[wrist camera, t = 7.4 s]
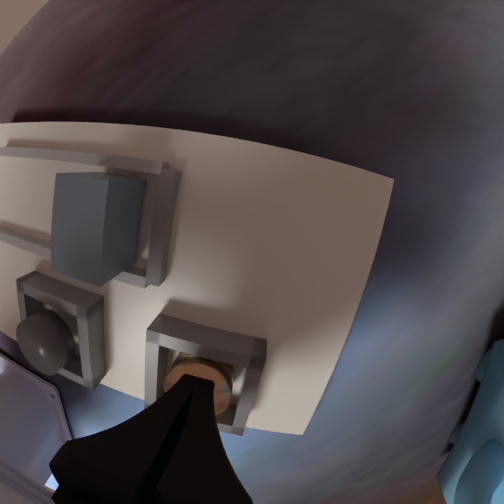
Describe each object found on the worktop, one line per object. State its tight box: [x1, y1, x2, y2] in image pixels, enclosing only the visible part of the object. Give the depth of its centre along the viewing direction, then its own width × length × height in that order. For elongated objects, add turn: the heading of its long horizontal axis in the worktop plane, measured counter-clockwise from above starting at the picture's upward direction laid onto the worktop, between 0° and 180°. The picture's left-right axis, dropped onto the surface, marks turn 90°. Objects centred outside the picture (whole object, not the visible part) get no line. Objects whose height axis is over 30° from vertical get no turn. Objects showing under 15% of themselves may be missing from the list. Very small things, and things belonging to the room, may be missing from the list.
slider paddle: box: [51, 172, 147, 287], centre depth 10 cm, size 4×2×3 cm, turn 168°
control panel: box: [0, 122, 394, 436], centre depth 13 cm, size 14×22×3 cm, turn 78°
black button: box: [16, 308, 76, 375], centre depth 11 cm, size 3×3×2 cm
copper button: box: [163, 352, 235, 415], centre depth 12 cm, size 3×3×2 cm
